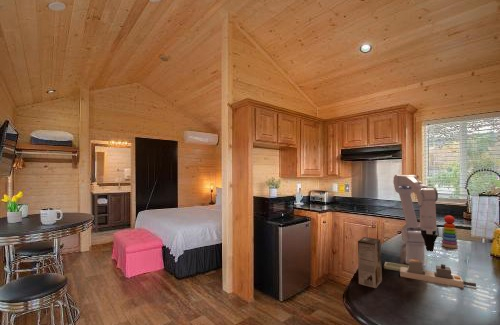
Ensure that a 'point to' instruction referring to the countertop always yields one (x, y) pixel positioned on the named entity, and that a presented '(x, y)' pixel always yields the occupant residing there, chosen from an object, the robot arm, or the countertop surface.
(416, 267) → the plug
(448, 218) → the stacking toy
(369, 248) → the coffee box
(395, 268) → the tray
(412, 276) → the power strip
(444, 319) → the countertop surface
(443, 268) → the seated twin plug
